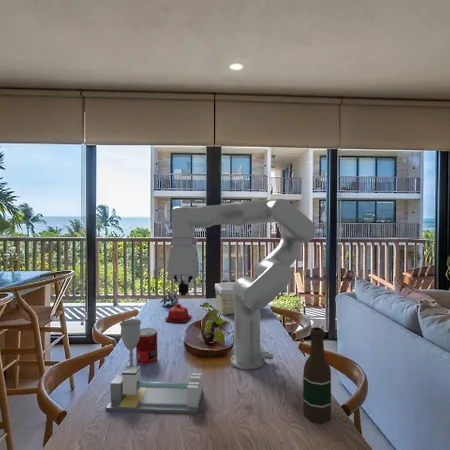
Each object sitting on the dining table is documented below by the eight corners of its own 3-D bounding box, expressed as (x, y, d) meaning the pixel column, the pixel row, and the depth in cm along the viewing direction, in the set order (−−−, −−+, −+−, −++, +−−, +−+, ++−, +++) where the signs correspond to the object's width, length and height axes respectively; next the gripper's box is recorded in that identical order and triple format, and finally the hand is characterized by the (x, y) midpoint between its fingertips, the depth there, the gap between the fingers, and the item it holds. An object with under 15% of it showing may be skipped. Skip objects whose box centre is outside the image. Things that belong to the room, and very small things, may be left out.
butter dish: (192, 317, 176) (192, 301, 176) (184, 324, 165) (184, 307, 165) (172, 315, 179) (172, 300, 179) (163, 322, 168) (163, 305, 168)
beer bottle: (298, 407, 94) (298, 324, 93) (325, 406, 95) (325, 323, 94) (307, 425, 86) (308, 334, 85) (336, 423, 87) (337, 333, 86)
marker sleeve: (140, 387, 101) (140, 366, 101) (136, 394, 97) (135, 373, 97) (127, 387, 101) (127, 366, 101) (122, 394, 97) (122, 372, 97)
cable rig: (202, 390, 104) (202, 370, 103) (196, 413, 92) (196, 391, 92) (121, 387, 106) (121, 368, 105) (105, 410, 94) (105, 388, 93)
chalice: (122, 381, 110) (121, 327, 109) (119, 372, 116) (117, 321, 115) (144, 375, 113) (143, 323, 112) (140, 367, 119) (139, 318, 118)
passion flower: (176, 315, 196) (178, 302, 189) (157, 312, 195) (159, 299, 188) (178, 300, 205) (181, 287, 198) (161, 298, 204) (162, 284, 197)
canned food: (152, 365, 121) (152, 335, 120) (132, 363, 122) (131, 334, 122) (160, 356, 128) (160, 328, 128) (141, 354, 130) (141, 327, 129)
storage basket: (253, 304, 198) (252, 280, 197) (263, 312, 182) (262, 286, 182) (214, 308, 192) (213, 282, 191) (221, 316, 176) (220, 289, 176)
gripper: (205, 241, 118) (206, 292, 118) (164, 241, 119) (165, 292, 119) (203, 243, 110) (203, 297, 111) (158, 243, 111) (159, 297, 112)
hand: (183, 294), depth 115 cm, fingers closed
